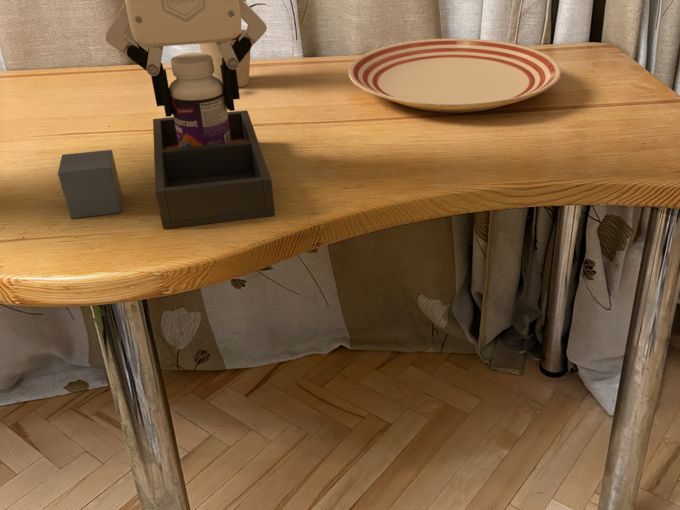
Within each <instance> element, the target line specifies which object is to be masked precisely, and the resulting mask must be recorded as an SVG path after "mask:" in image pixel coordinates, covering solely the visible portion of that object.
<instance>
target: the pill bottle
mask: <svg viewBox="0 0 680 510" xmlns="http://www.w3.org/2000/svg"><path fill="white" fill-rule="evenodd" d="M170 65H171V71H172V74H173V76H174V77H175V78H176V79H173V81H171V82H170V84H169V93H170V99H171V105H172V110H173V115H172V117H174V122H175V128H176V133H177V139H178V145H179V148H183V147H193V146H203V145H213V144H223V143H231V136H230V129H229V121H228V114H227V112H228V110H227V107H226V99H225V92H224V86H223V83H222V82H221V81H220V80H219V79H218V78H216V77H214V76H213V75H212V74H213V73H214V65H213V60H212V57H211V56H210V55H208V54H204V53H202V52H188V53H182V54H177V55H175V56H173V57H171V59H170Z"/></svg>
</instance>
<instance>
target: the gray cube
mask: <svg viewBox="0 0 680 510" xmlns="http://www.w3.org/2000/svg"><path fill="white" fill-rule="evenodd" d="M59 161H60V162H59V166H58V171H57V176H58V179H59V183H60V186H61V190H62V193H63V197H64V199H65V204H66V207H67V211H68V214H69V218H70V219H71V220H72V219H81V218H88V217H98V216H105V215H114V214H122V205H123V192H122V187H121V183H120V178H119V174H118V170H117V164H116V161H115V157H114V153H113V150H112V149H106V150H104V149H103V150H95V151H86V152H75V153H64V154H62V155H61V157H60V160H59Z"/></svg>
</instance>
